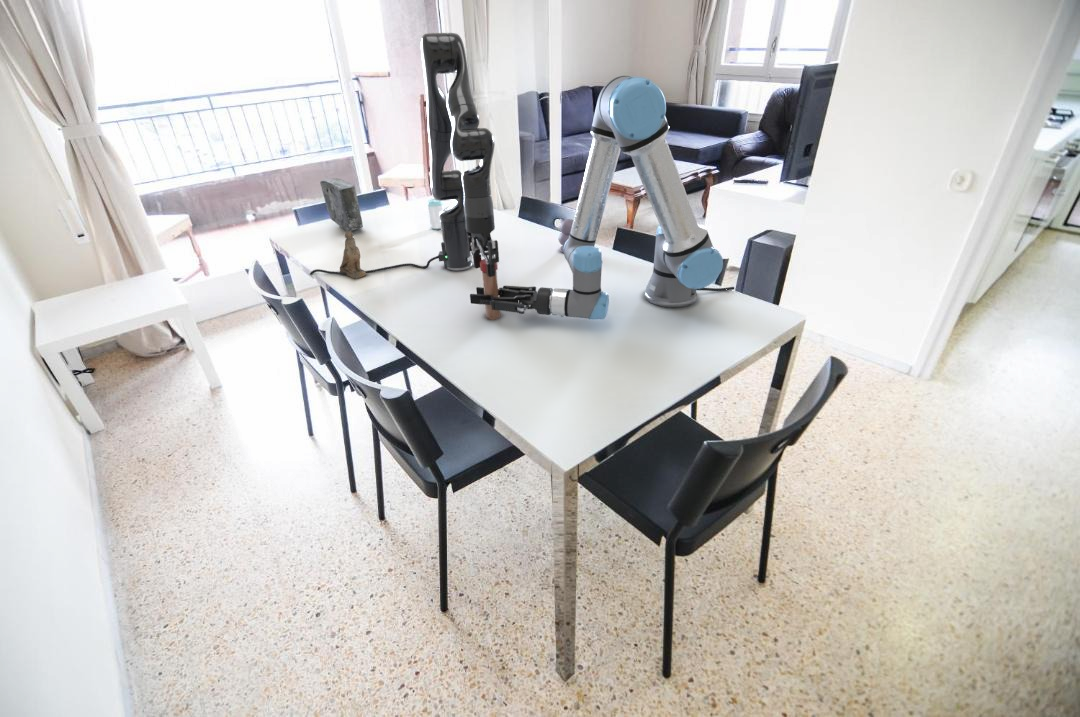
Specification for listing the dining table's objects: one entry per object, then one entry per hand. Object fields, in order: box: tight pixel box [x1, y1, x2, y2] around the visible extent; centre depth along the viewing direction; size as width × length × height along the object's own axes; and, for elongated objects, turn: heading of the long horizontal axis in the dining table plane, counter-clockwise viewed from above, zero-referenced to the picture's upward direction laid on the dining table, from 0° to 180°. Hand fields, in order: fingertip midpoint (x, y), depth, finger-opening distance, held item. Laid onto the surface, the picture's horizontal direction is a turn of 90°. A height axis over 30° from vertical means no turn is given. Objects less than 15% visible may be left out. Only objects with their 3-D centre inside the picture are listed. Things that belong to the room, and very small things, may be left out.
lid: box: [479, 257, 499, 273], centre depth 137 cm, size 5×5×2 cm
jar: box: [481, 269, 501, 320], centre depth 141 cm, size 4×4×16 cm
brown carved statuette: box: [339, 230, 367, 280], centre depth 174 cm, size 12×6×18 cm, turn 43°
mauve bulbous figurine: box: [558, 218, 573, 254], centre depth 188 cm, size 8×8×12 cm
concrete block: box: [319, 177, 364, 232], centre depth 222 cm, size 27×9×20 cm, turn 36°
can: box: [426, 198, 445, 230], centre depth 220 cm, size 7×7×12 cm
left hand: (484, 271), depth 138 cm, fingers open, 7 cm apart
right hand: (474, 295), depth 144 cm, fingers closed on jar, 4 cm apart
